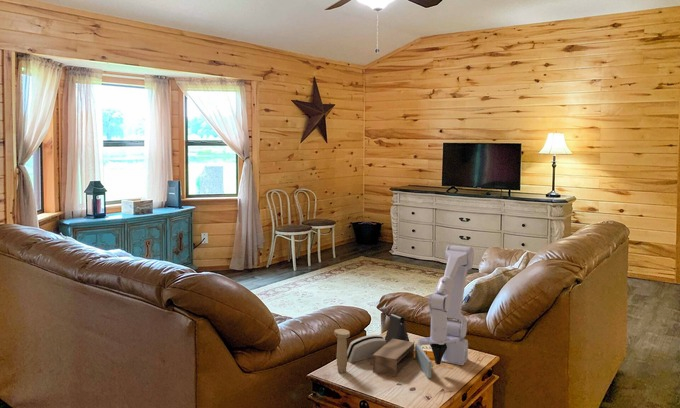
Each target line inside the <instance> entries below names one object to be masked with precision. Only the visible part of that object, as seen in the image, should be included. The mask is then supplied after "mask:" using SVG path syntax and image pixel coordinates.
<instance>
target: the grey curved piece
mask: <svg viewBox="0 0 680 408" xmlns="http://www.w3.org/2000/svg"><path fill="white" fill-rule="evenodd" d="M385 344H386V340H385V338H384V337H383V335H380V334H369V335H364V336H361V337H358V338H356V339H354V340H352V341H351V342H350V343H349V346H348V347H347V363H354V362H359V361H363V360H366V359H370V358H373V354H374V353H376V352H377V351H378V350H379V349H380V348H382V347H383V346H384V345H385Z"/></svg>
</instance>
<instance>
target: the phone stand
mask: <svg viewBox="0 0 680 408" xmlns="http://www.w3.org/2000/svg"><path fill="white" fill-rule="evenodd" d="M405 320H406V319H405V317H404V316H402V315H399V314H396V313H391V314H390V315H389V323H388V327H387V331H386V333H385V338H384V339H385V340H386V344H387V343H388V342H389V341H390V340H391V339H399V340H404V341H410V339H409V334H408V331H407V327H406V321H405Z"/></svg>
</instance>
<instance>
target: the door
mask: <svg viewBox="0 0 680 408" xmlns="http://www.w3.org/2000/svg"><path fill="white" fill-rule="evenodd" d="M414 359H415V361H416V362H417V364H418V365H419V367H420V368H421V370H422V371H423V373H424V374H425V375H426V377H427V379H432V368H434V363H433V362H432V360H431V359H430V358H429V356H428V355H427V354H426V353H425V351H424V350H423V348H422V347H421V346H419V345H418V343H414Z"/></svg>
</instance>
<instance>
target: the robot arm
mask: <svg viewBox="0 0 680 408" xmlns="http://www.w3.org/2000/svg"><path fill="white" fill-rule="evenodd" d="M444 255H445V261H446V266H445V270H444V274H443V276H441V277H440V278H439V279H438V282H437V284H436V287H435V290H434V292H433V294H430V296H429V299H428V308H429V314H430V336H429V337H422V338H418V339H417V344H418V345H419V346H420V347H421V346H424V345H425V346H426V345H427V346H430V348H431V350H432V353H433V358H434V363H435V365H439V366H440V365H441V363H443V362H444V363H449V364H453V365H459V366H464V365H465V363H466V362H467V361H468V359H469V354H468V353H469V341H468V339H465V337H466V335H467V331H468V330H467V329H468V325H467V324H468V320H467V318H466V316H465V315H464V314H463V313H462V308H463V307H462V306H463V300H464V293H465V287H466V279H467V274H468V271H469V270H472V268H473V265H474V258H475V257H474V256H475V251H474V248H473V246H463V245H453V244H447V246H446V248H445V251H444Z"/></svg>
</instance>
